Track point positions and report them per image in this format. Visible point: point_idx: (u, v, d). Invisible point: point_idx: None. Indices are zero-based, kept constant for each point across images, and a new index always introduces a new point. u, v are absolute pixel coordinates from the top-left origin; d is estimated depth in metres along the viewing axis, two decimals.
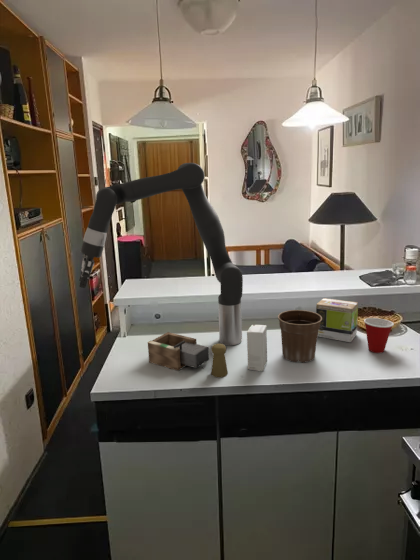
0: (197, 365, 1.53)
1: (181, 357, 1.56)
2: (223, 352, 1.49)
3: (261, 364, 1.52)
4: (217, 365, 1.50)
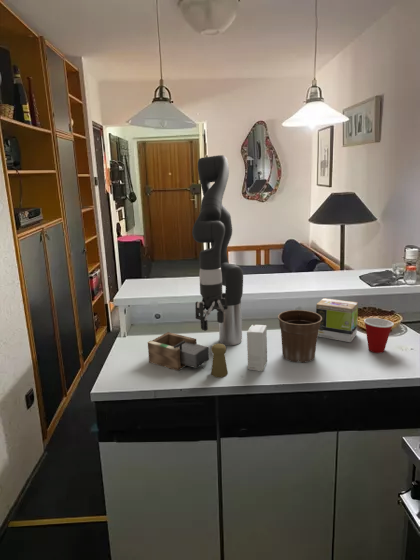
0: (197, 365, 1.53)
1: (181, 357, 1.56)
2: (223, 352, 1.49)
3: (261, 364, 1.52)
4: (217, 365, 1.50)
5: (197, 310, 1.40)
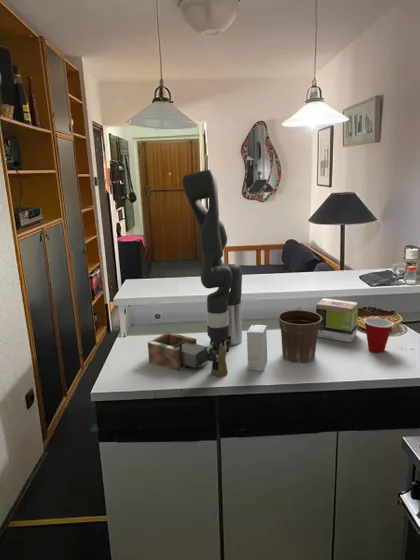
0: (197, 365, 1.53)
1: (181, 357, 1.56)
2: (223, 352, 1.49)
3: (261, 364, 1.52)
4: None
5: (208, 355, 1.46)
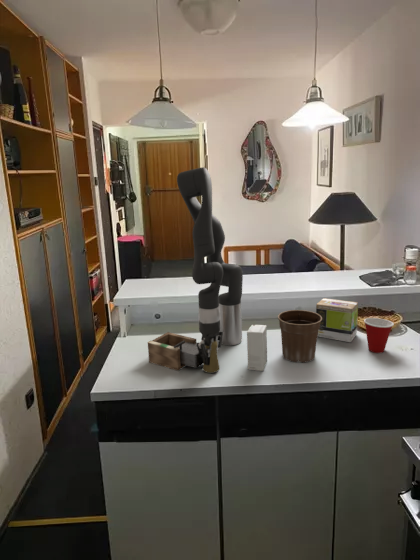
0: (197, 365, 1.53)
1: (181, 357, 1.56)
2: (214, 347, 1.50)
3: (261, 364, 1.52)
4: None
5: (200, 350, 1.48)
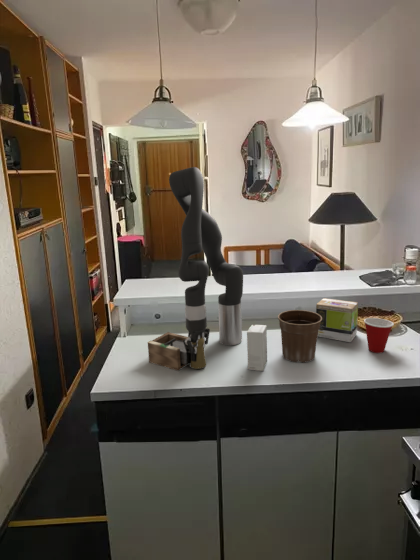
0: (187, 362, 1.56)
1: None
2: (201, 344, 1.54)
3: (261, 364, 1.52)
4: None
5: (186, 347, 1.51)
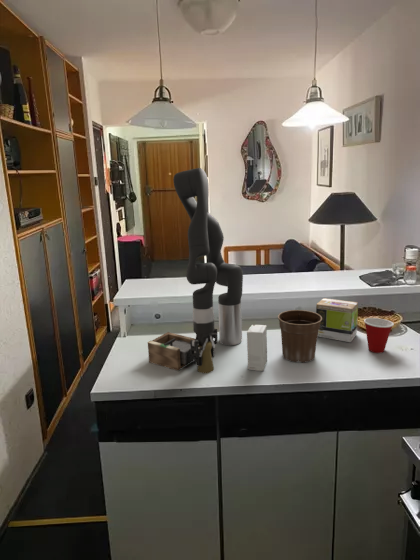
0: (187, 362, 1.56)
1: None
2: (209, 348, 1.52)
3: (261, 364, 1.52)
4: (203, 361, 1.53)
5: (192, 348, 1.48)
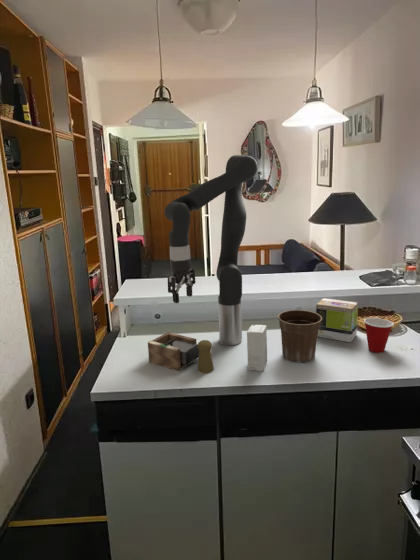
0: (187, 362, 1.56)
1: None
2: (209, 348, 1.52)
3: (261, 364, 1.52)
4: (203, 361, 1.53)
5: (169, 284, 1.54)
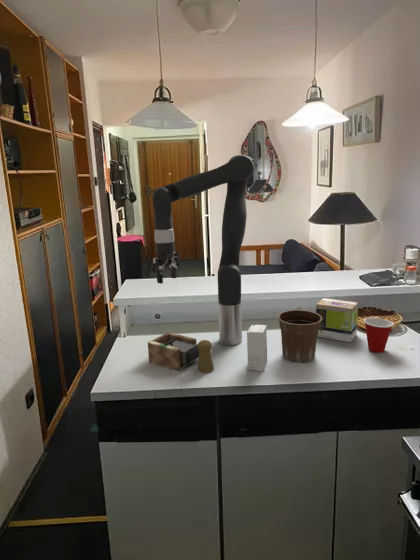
0: (187, 362, 1.56)
1: None
2: (209, 348, 1.52)
3: (261, 364, 1.52)
4: (203, 361, 1.53)
5: (153, 265, 1.62)
